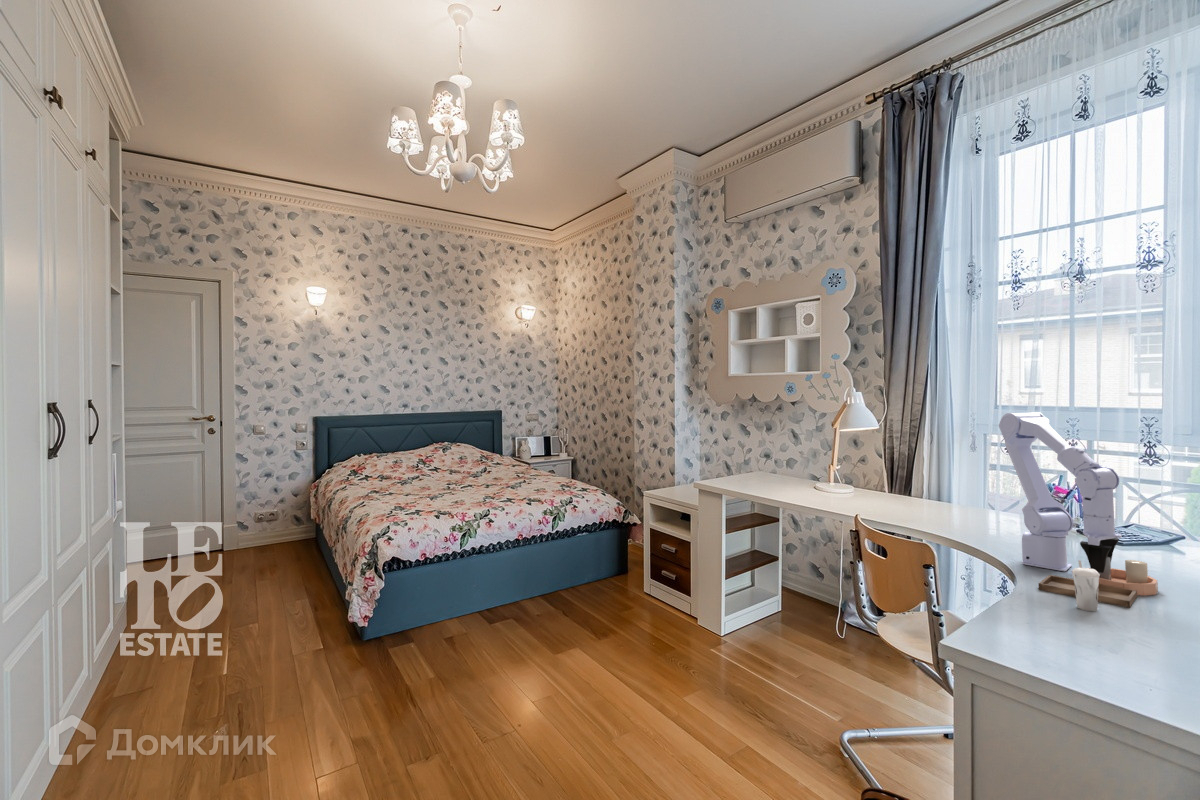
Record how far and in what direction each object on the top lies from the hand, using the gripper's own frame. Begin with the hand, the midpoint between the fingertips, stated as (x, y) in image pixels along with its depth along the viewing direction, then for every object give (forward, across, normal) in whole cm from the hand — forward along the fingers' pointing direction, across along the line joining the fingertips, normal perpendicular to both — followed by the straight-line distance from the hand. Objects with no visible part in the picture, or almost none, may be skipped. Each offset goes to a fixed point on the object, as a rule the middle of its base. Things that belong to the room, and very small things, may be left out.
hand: (1100, 568), depth 133 cm
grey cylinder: (+3, 0, 0) cm, 3 cm away
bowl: (+4, 0, -3) cm, 5 cm away
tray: (+4, -12, +1) cm, 13 cm away
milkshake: (+4, -24, -1) cm, 24 cm away
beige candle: (+3, 0, -6) cm, 7 cm away
